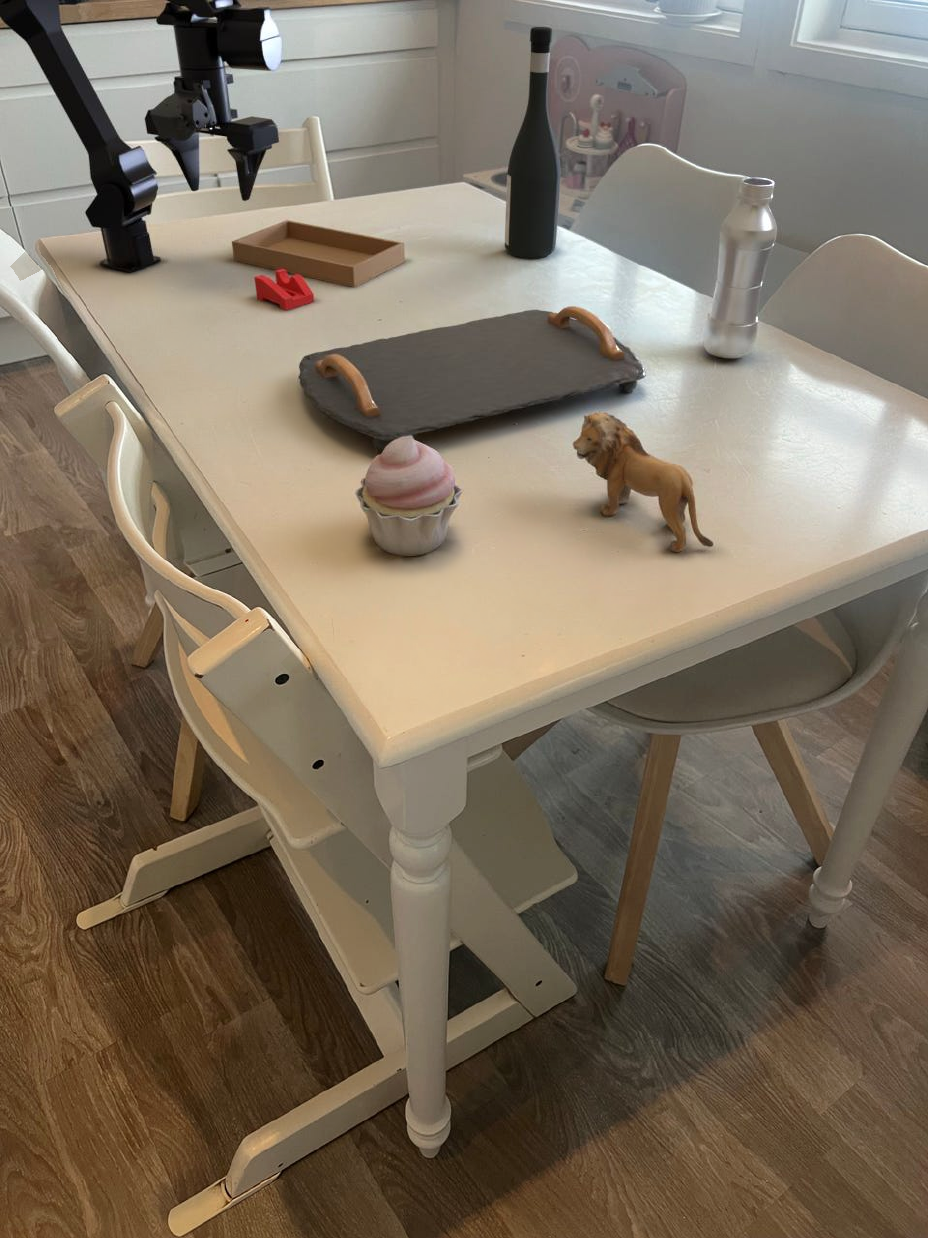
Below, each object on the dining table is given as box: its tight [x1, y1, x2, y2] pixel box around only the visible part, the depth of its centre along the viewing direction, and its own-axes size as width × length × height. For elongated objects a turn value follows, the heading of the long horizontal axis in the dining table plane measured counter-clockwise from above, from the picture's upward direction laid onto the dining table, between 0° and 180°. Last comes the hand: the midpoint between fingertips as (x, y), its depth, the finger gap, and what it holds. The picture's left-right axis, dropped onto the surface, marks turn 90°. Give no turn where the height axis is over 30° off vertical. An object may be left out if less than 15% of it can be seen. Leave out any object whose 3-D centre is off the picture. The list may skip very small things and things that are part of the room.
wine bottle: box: [504, 26, 562, 259], centre depth 140 cm, size 8×8×30 cm
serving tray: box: [298, 305, 647, 455], centre depth 108 cm, size 39×23×6 cm, turn 119°
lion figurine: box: [572, 411, 714, 553], centre depth 85 cm, size 15×5×9 cm, turn 50°
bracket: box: [253, 269, 315, 311], centre depth 131 cm, size 6×5×3 cm
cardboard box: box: [231, 219, 406, 288], centre depth 144 cm, size 22×13×3 cm, turn 60°
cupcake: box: [354, 435, 465, 557], centre depth 82 cm, size 9×9×10 cm
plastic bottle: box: [702, 177, 778, 359], centre depth 112 cm, size 6×7×20 cm
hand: (220, 195), depth 132 cm, fingers open, 9 cm apart
